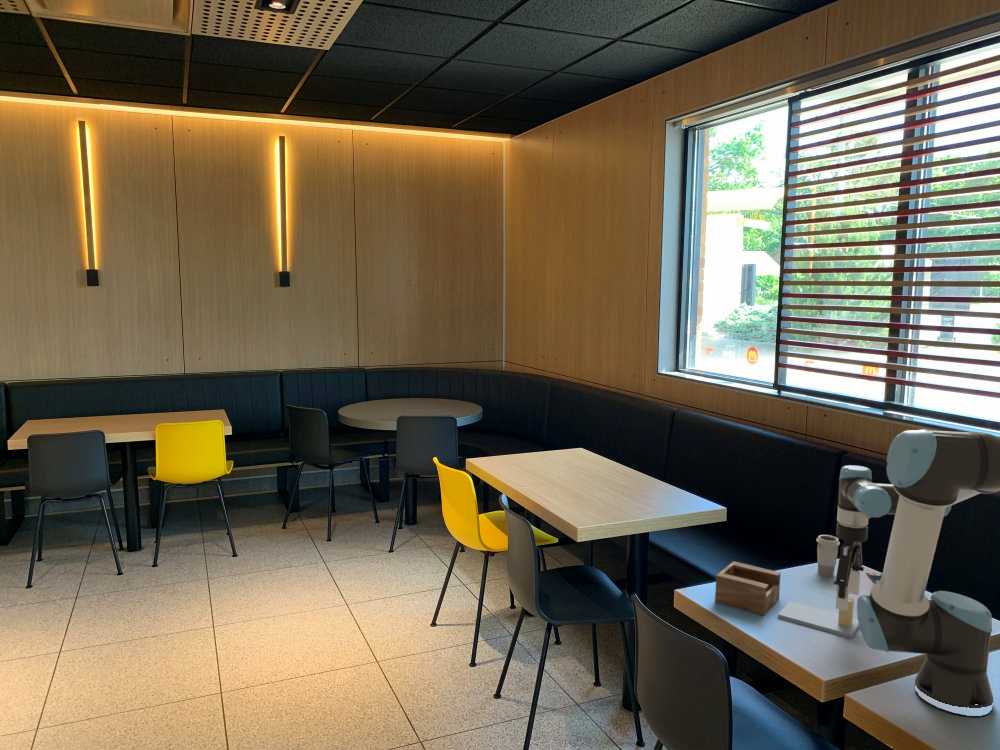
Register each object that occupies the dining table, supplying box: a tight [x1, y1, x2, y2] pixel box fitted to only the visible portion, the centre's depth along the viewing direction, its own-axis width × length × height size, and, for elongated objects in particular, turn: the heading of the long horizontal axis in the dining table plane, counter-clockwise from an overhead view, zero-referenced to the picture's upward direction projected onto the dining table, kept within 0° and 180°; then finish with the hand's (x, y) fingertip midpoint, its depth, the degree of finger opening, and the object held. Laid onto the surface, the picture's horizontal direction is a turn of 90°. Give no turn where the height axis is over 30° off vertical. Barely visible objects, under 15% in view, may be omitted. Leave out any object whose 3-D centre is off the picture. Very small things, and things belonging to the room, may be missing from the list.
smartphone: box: [865, 572, 882, 585], centre depth 231 cm, size 8×15×1 cm, turn 171°
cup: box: [815, 534, 841, 578], centre depth 237 cm, size 7×7×12 cm
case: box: [714, 561, 782, 617], centre depth 217 cm, size 14×14×8 cm
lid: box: [777, 597, 860, 639], centre depth 205 cm, size 11×19×8 cm, turn 53°
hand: (847, 601), depth 200 cm, fingers open, 13 cm apart
